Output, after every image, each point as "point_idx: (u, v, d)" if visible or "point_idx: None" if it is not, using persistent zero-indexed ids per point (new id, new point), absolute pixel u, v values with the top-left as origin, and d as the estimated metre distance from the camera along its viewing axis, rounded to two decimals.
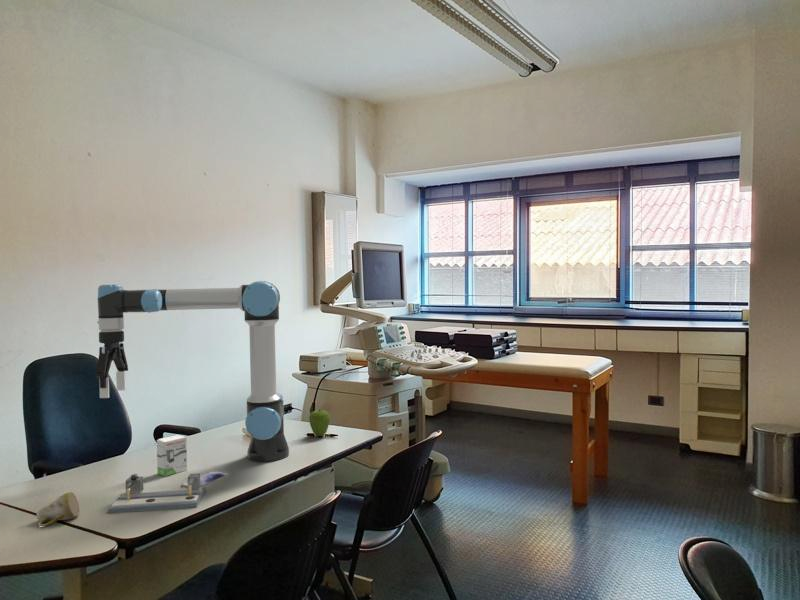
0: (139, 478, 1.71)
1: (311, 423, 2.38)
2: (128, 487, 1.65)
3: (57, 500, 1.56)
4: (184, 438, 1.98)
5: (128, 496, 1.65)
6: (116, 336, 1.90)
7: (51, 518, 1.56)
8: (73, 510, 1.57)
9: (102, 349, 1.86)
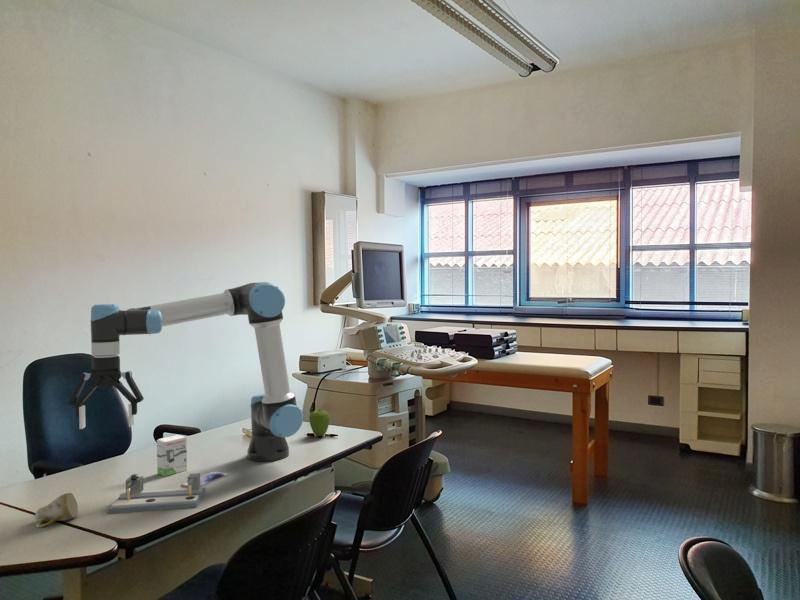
0: (139, 478, 1.71)
1: (311, 423, 2.38)
2: (128, 487, 1.65)
3: (56, 500, 1.56)
4: (184, 438, 1.98)
5: (128, 496, 1.65)
6: (93, 363, 1.69)
7: (49, 518, 1.55)
8: (72, 511, 1.57)
9: None
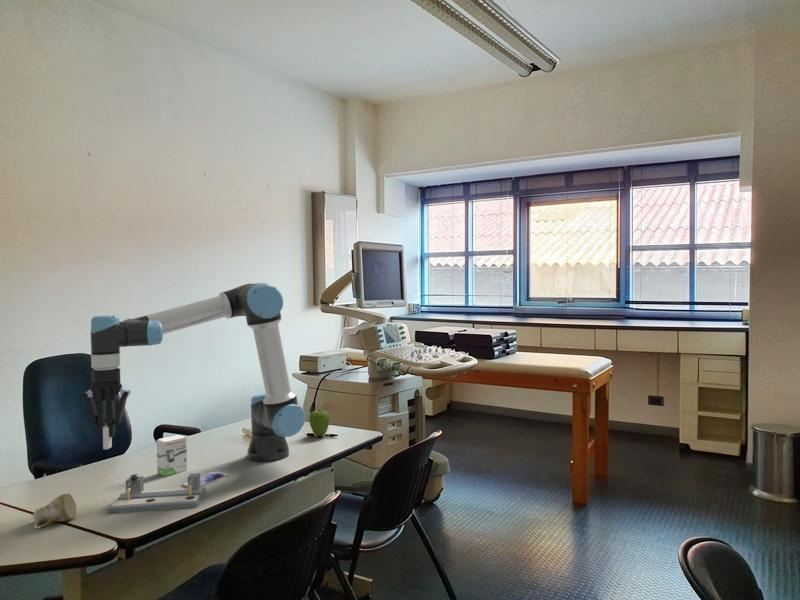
0: (139, 478, 1.71)
1: (311, 423, 2.38)
2: (128, 487, 1.65)
3: (53, 501, 1.55)
4: (184, 438, 1.98)
5: (128, 496, 1.65)
6: (92, 376, 1.66)
7: (47, 519, 1.55)
8: (70, 512, 1.56)
9: None
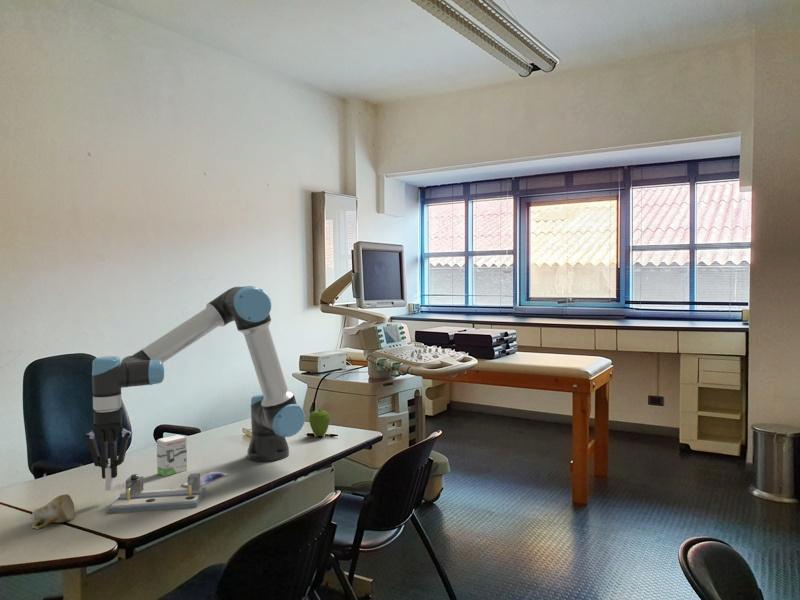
0: (139, 478, 1.71)
1: (311, 423, 2.38)
2: (128, 487, 1.65)
3: (51, 502, 1.55)
4: (184, 438, 1.98)
5: (128, 496, 1.65)
6: (94, 418, 1.67)
7: (45, 520, 1.54)
8: (68, 513, 1.56)
9: None
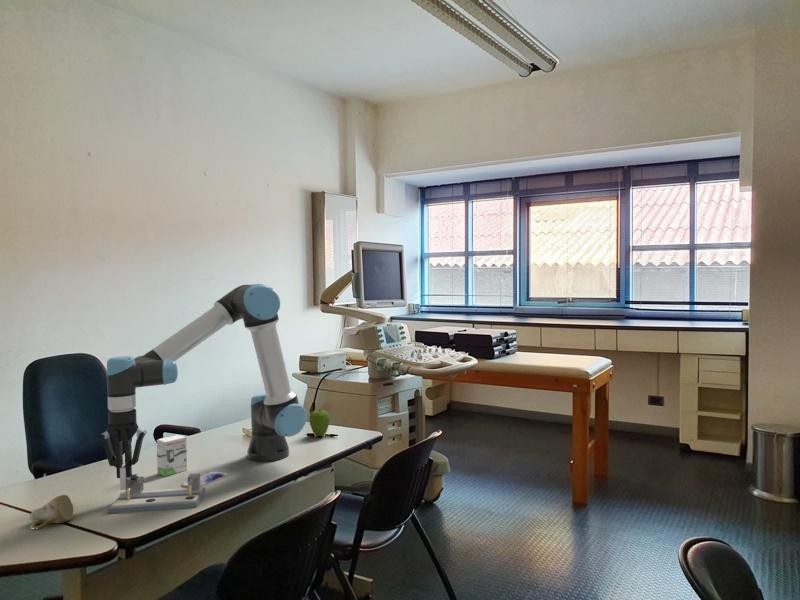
0: (139, 478, 1.71)
1: (311, 423, 2.38)
2: (128, 487, 1.65)
3: (50, 502, 1.54)
4: (184, 438, 1.98)
5: (128, 496, 1.65)
6: (109, 417, 1.67)
7: (44, 520, 1.54)
8: (66, 514, 1.55)
9: None
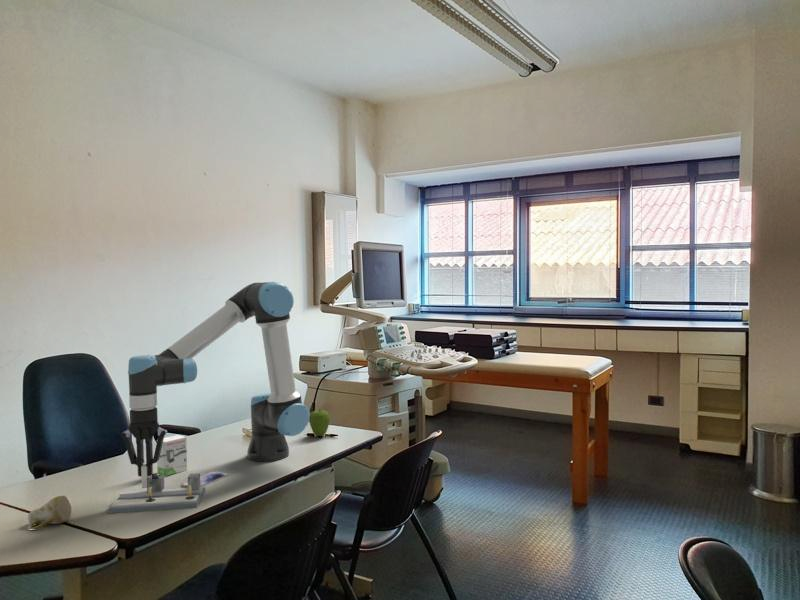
0: (160, 477, 1.72)
1: (311, 423, 2.38)
2: (150, 486, 1.66)
3: (47, 503, 1.54)
4: (184, 438, 1.98)
5: (150, 495, 1.66)
6: (131, 416, 1.68)
7: (41, 521, 1.54)
8: (63, 514, 1.55)
9: None
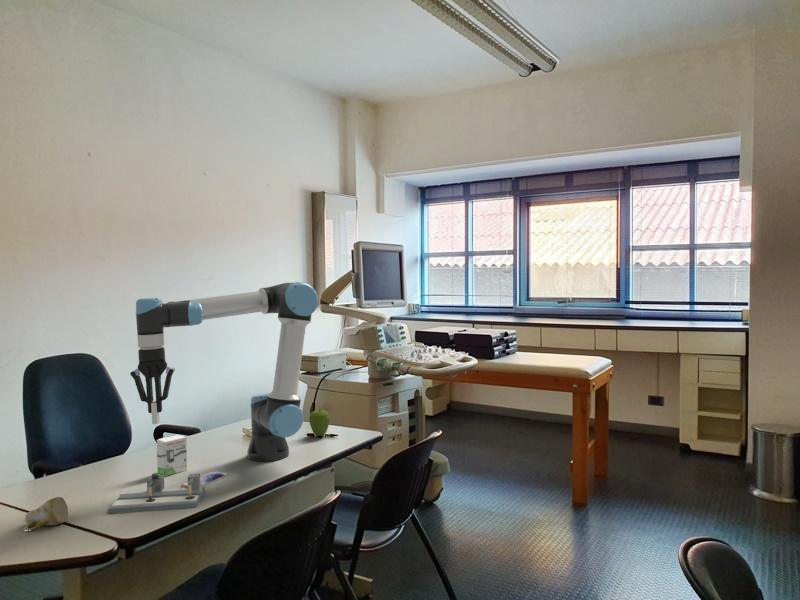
0: (160, 477, 1.72)
1: (311, 423, 2.38)
2: (150, 486, 1.66)
3: (44, 504, 1.53)
4: (184, 438, 1.98)
5: (150, 495, 1.66)
6: (140, 355, 1.76)
7: (38, 522, 1.53)
8: (59, 516, 1.53)
9: None
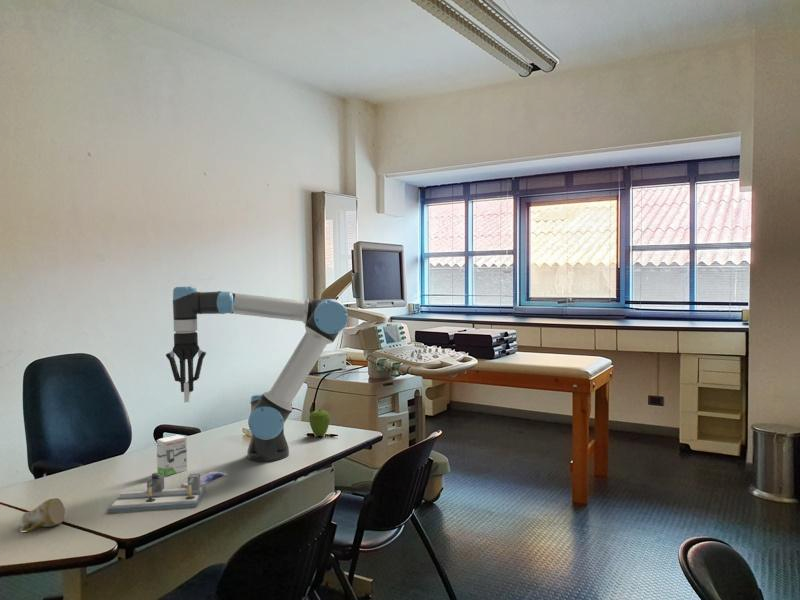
0: (160, 477, 1.72)
1: (311, 423, 2.38)
2: (150, 486, 1.66)
3: (40, 506, 1.52)
4: (184, 438, 1.98)
5: (150, 495, 1.66)
6: (175, 338, 1.92)
7: (34, 524, 1.52)
8: (55, 518, 1.53)
9: None
